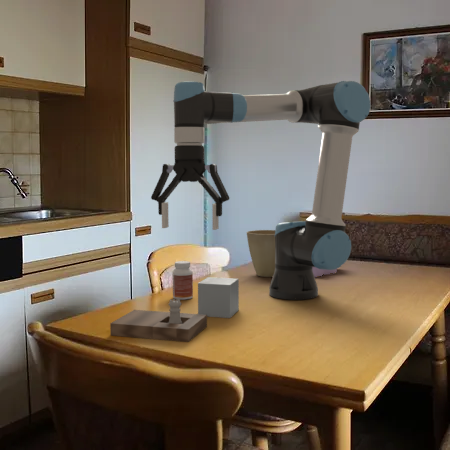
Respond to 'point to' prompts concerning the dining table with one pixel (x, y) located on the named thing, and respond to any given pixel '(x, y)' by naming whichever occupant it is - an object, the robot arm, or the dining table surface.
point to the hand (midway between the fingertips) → (190, 228)
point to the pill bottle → (182, 281)
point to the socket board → (158, 325)
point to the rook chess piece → (175, 311)
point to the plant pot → (262, 251)
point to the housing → (218, 297)
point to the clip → (322, 271)
